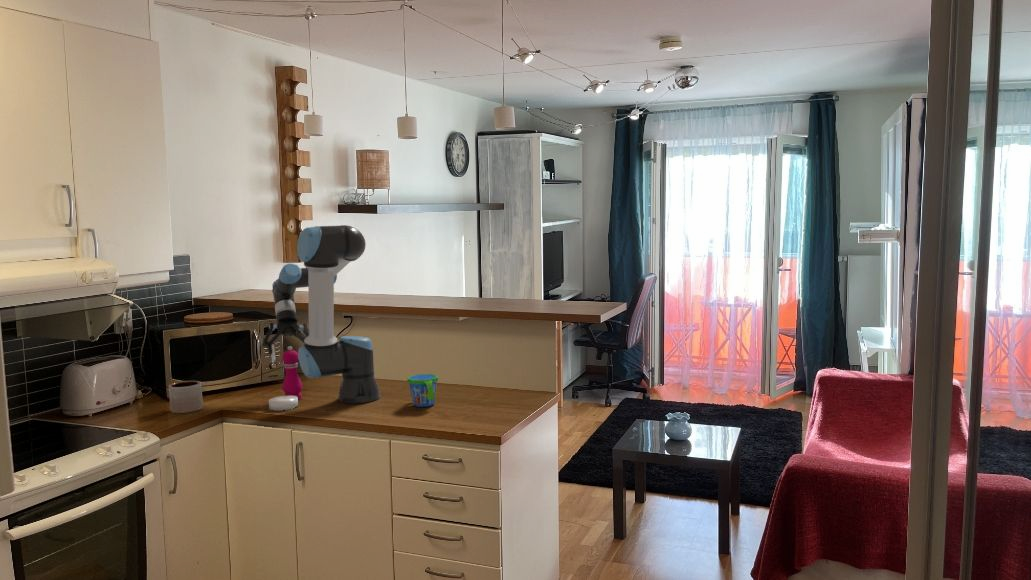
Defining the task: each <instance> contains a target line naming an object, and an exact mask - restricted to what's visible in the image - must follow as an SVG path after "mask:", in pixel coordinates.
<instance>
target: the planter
mask: <svg viewBox="0 0 1031 580" xmlns="http://www.w3.org/2000/svg"><path fill="white" fill-rule="evenodd" d="M168 394H169V408H170V409H169V410H170V412H171V413H174V414H178V413H182V414H189V413H190V412H191V413H194V412H198V411H201V410H202V409H203V408H204V400H203V391H202V381H199V380H184V381H183V380H182V381H177V382H174V383H170V384H169V385H168Z"/></svg>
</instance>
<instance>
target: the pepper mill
mask: <svg viewBox="0 0 1031 580" xmlns="http://www.w3.org/2000/svg"><path fill="white" fill-rule="evenodd" d="M281 359H282V361H283V365H284V369H285V378H284V380H283V383H282V391H283V393H285V394H284V395H283V396H297V397H298V399H299V400H302V398H303V395H302V394H303V393H302V392H301V391H302V390H303V387H304V386H303V382H302V380H301V378H300V376H299V373H298V367H299V365H298V364H299V358H298V351H296V350H294V349H293V346H291V345H290V346H287V350H286V351H284V352H283V353H282V356H281Z"/></svg>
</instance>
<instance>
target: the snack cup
mask: <svg viewBox="0 0 1031 580" xmlns="http://www.w3.org/2000/svg"><path fill="white" fill-rule="evenodd" d="M406 379H407V383H408V385H409V389H410V395H411V400H412V403H413V405H414V406H415V407H418V408H425V407H431V406H433V405H435V404H436V393H437V382H438V381H439V376H438V375H437V374H434V373H420V374H413V375H411V376H408V377H407V378H406Z"/></svg>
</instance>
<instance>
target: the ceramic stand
mask: <svg viewBox="0 0 1031 580" xmlns="http://www.w3.org/2000/svg"><path fill="white" fill-rule="evenodd" d="M297 406H298V407H299V400H298V397H297V396H284V395H279V396H275V397H271V398H269V399H268V409H269V410H270V411H272V410H273V412H274V411H275V412H282V411H283V410H285V411H289V410H290V409H291V410H294V409H296V408H295V407H297ZM298 407H297V408H298ZM293 408H294V409H293ZM291 410H290V411H291ZM283 412H284V411H283Z"/></svg>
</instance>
